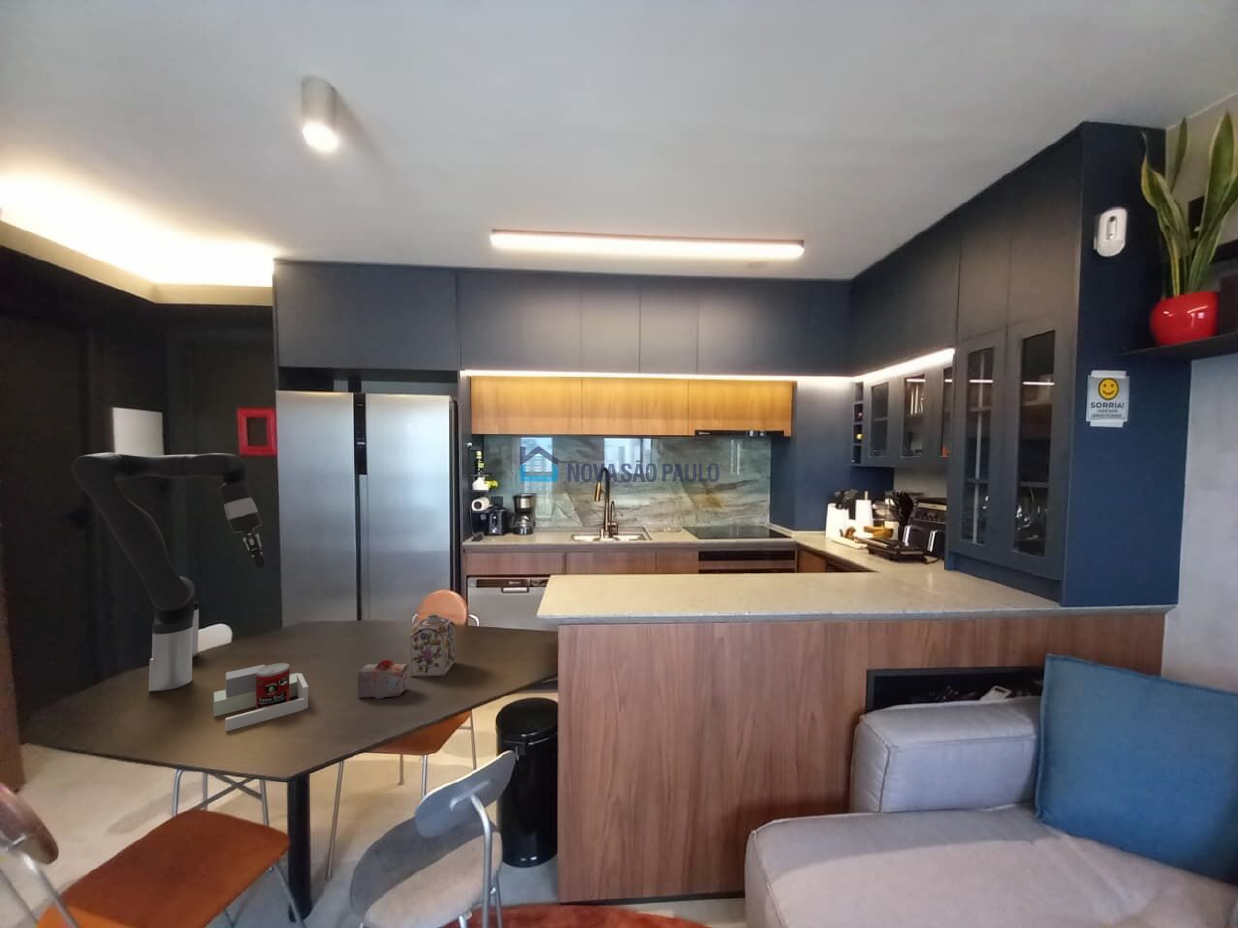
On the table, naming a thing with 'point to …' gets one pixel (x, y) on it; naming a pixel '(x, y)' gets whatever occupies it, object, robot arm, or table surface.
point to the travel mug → (195, 629)
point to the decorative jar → (432, 646)
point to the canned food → (272, 685)
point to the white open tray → (244, 696)
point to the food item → (382, 680)
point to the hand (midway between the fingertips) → (261, 567)
